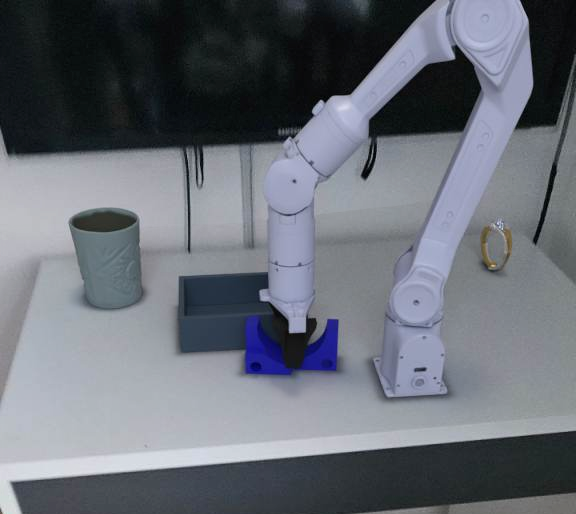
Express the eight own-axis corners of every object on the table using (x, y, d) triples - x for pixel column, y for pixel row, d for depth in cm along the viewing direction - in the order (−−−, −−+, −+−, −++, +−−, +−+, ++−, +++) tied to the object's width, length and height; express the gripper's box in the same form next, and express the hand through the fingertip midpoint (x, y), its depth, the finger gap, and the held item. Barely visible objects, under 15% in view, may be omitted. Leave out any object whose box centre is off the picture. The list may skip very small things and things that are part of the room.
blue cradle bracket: (245, 373, 101) (243, 333, 97) (249, 356, 105) (248, 316, 101) (335, 376, 101) (337, 336, 97) (337, 359, 104) (338, 319, 100)
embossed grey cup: (79, 287, 121) (64, 211, 113) (142, 278, 124) (132, 203, 116) (87, 315, 114) (72, 236, 106) (154, 305, 116) (144, 227, 108)
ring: (472, 262, 128) (480, 214, 122) (490, 259, 128) (498, 211, 123) (492, 279, 123) (501, 229, 117) (510, 276, 123) (519, 227, 118)
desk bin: (307, 345, 107) (308, 312, 103) (181, 352, 106) (178, 318, 102) (296, 302, 117) (297, 270, 114) (182, 307, 116) (178, 275, 112)
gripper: (254, 236, 98) (257, 331, 107) (263, 284, 87) (265, 386, 96) (308, 233, 98) (307, 329, 107) (324, 282, 88) (321, 383, 97)
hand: (291, 356), depth 102 cm, fingers closed on blue cradle bracket, 5 cm apart
